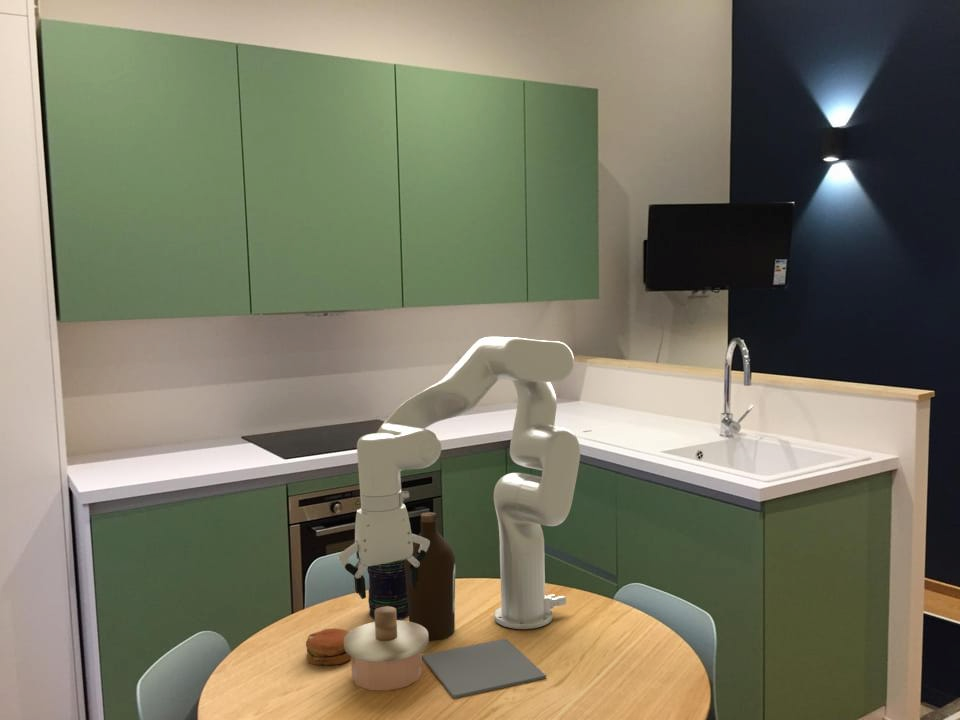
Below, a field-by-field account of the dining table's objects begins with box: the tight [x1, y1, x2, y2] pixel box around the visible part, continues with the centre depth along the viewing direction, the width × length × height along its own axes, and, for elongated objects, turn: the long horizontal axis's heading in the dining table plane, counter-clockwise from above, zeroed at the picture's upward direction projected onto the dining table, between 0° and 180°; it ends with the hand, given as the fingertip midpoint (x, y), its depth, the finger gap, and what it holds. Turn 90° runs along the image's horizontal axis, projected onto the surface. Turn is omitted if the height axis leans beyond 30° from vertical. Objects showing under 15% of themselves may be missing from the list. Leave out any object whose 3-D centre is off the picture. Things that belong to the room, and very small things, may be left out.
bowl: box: [350, 650, 423, 692], centre depth 156 cm, size 13×13×6 cm
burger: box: [305, 627, 351, 666], centre depth 164 cm, size 10×9×5 cm
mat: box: [422, 638, 547, 699], centre depth 157 cm, size 18×18×1 cm
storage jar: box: [366, 560, 409, 620], centre depth 185 cm, size 10×10×15 cm
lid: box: [344, 606, 430, 661], centre depth 155 cm, size 16×16×6 cm
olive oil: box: [404, 511, 457, 641], centre depth 174 cm, size 11×11×25 cm
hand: (387, 591), depth 155 cm, fingers open, 9 cm apart
